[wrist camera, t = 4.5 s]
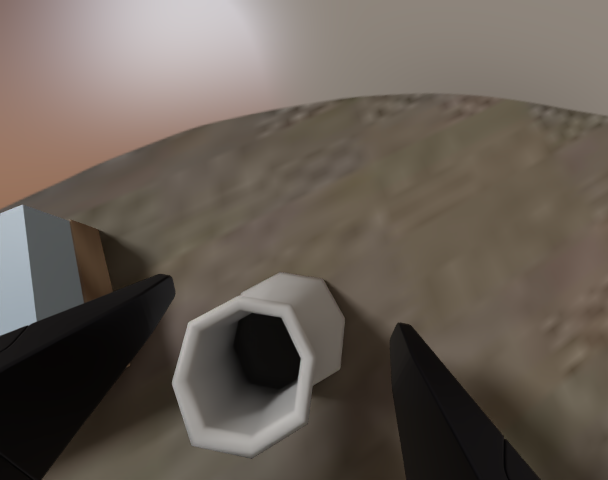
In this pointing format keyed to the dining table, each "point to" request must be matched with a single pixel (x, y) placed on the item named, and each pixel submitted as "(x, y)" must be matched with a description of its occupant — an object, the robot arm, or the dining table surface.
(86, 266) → the walnut block
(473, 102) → the dining table surface
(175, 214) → the dining table surface
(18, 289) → the pale blue square slab
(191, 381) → the flask
